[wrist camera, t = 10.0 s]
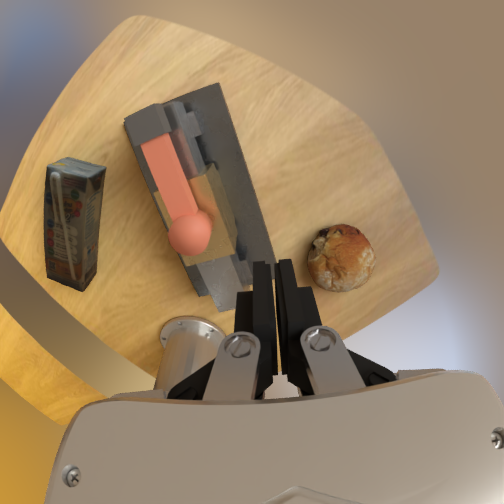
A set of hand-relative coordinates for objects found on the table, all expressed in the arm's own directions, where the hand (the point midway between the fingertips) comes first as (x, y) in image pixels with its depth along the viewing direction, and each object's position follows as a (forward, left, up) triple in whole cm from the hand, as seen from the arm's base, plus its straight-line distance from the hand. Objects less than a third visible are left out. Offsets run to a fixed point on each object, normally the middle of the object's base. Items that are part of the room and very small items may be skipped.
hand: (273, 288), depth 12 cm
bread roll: (-15, -8, -26) cm, 31 cm away
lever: (+4, +8, -16) cm, 19 cm away
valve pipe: (-2, +8, -25) cm, 26 cm away
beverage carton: (+2, +28, -26) cm, 38 cm away
